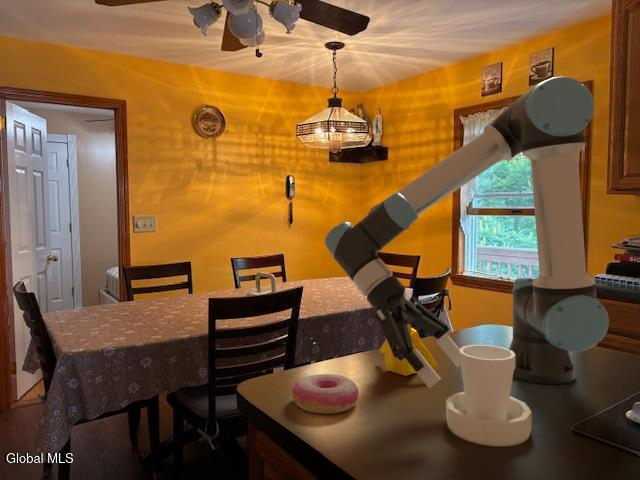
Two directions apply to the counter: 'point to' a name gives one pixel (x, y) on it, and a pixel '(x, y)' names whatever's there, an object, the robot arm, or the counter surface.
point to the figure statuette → (404, 366)
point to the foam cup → (487, 380)
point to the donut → (325, 393)
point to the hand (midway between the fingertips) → (450, 373)
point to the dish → (489, 423)
